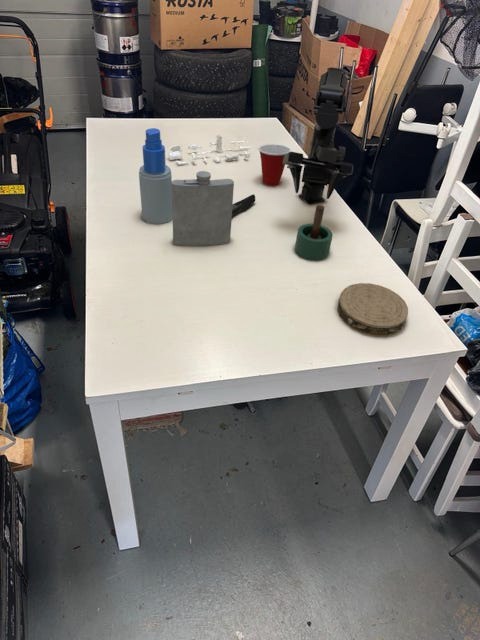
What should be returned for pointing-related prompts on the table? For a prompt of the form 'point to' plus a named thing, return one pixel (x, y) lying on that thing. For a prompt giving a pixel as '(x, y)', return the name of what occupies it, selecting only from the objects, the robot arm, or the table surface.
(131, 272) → the table surface
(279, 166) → the plastic cup
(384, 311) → the wood slice coaster
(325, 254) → the round container
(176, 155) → the miniature set
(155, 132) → the spray bottle
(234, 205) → the electric trimmer
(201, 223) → the hip flask
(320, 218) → the brown cylinder with base
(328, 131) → the robot arm
